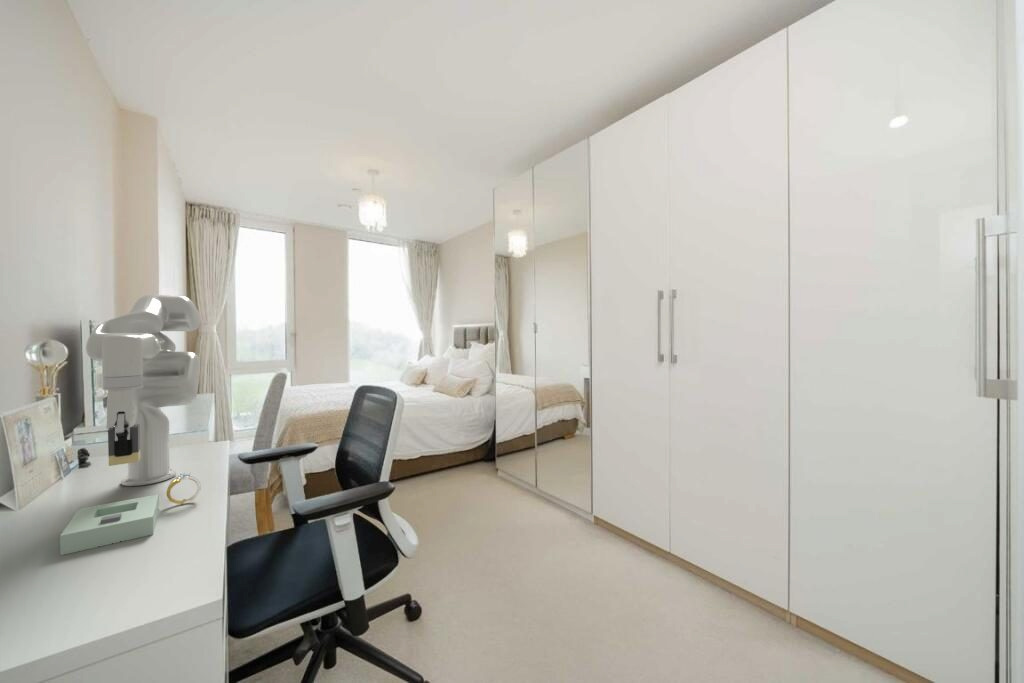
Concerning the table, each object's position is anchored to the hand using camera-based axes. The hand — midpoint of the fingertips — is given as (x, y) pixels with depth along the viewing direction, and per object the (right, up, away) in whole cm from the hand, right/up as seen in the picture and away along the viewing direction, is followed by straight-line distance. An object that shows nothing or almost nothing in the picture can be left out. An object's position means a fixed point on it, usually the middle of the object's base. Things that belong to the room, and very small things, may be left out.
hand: (124, 452), depth 104 cm
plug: (0, -2, 0) cm, 2 cm away
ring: (+13, -14, +2) cm, 20 cm away
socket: (+10, -14, -12) cm, 21 cm away
